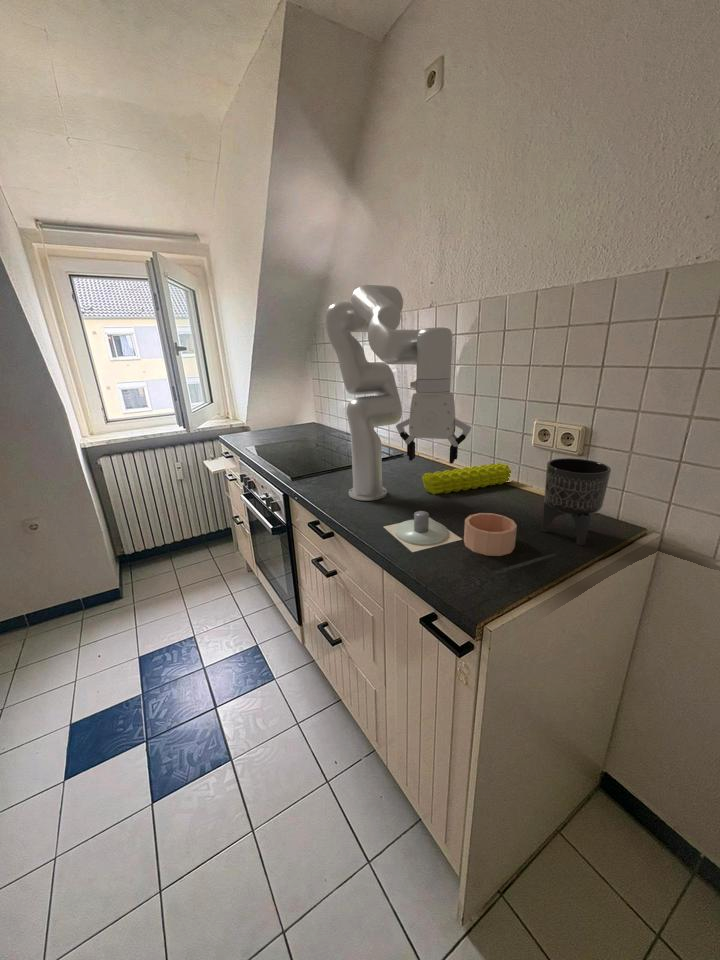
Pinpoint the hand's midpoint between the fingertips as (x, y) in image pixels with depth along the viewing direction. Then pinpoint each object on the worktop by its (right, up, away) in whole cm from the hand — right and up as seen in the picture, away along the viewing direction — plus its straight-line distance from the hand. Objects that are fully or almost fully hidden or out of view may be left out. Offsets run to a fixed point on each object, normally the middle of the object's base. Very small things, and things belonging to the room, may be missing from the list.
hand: (431, 460), depth 90 cm
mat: (-2, -18, +5) cm, 19 cm away
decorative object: (+20, -7, +38) cm, 43 cm away
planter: (+34, -18, +3) cm, 39 cm away
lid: (-2, -18, +5) cm, 19 cm away
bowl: (+13, -20, -1) cm, 24 cm away
